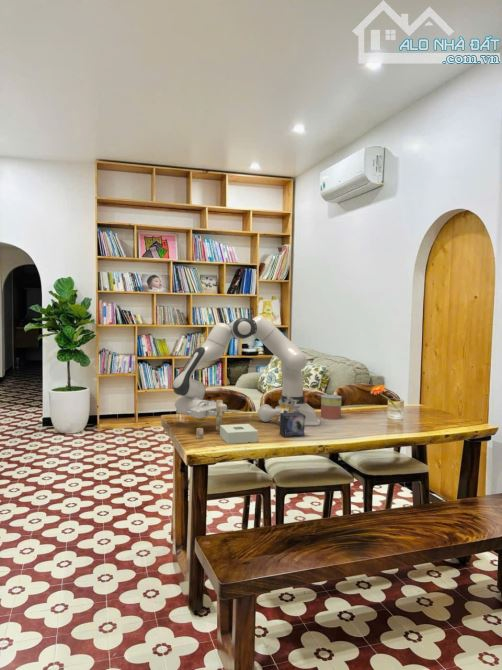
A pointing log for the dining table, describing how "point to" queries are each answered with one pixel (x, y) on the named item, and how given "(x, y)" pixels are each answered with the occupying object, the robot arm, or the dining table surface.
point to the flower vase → (277, 409)
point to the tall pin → (219, 413)
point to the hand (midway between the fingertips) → (220, 413)
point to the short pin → (199, 433)
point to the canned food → (331, 407)
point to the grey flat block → (238, 433)
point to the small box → (292, 424)
